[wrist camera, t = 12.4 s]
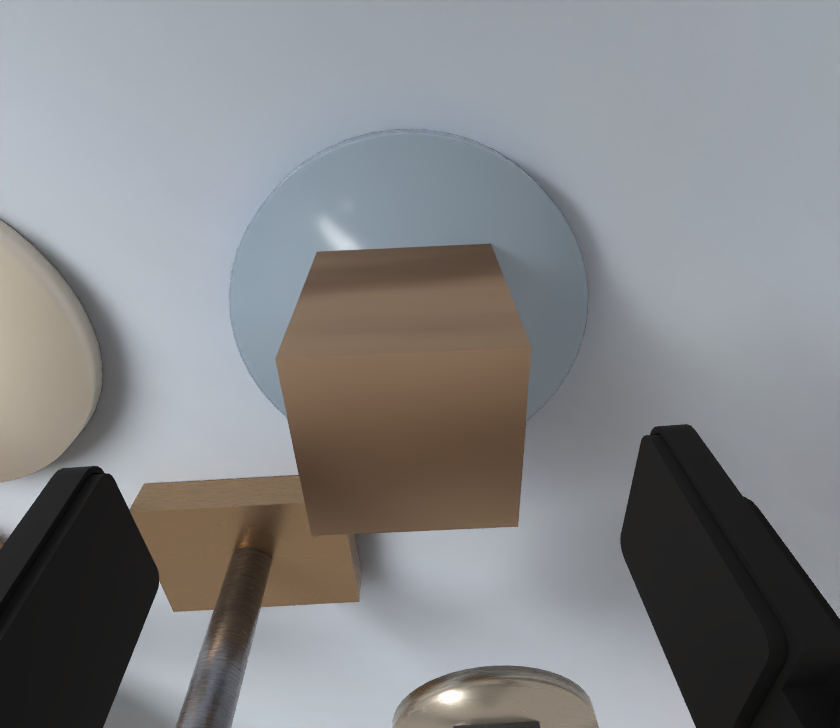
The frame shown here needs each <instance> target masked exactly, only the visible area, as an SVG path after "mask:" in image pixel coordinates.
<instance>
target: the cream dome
mask: <svg viewBox="0 0 840 728" xmlns="http://www.w3.org/2000/svg"><path fill="white" fill-rule="evenodd" d="M102 381H103V378H102V360H101V354H100V348H99V344H98V341H97V338H96V335H95V332H94V329H93V326H92V324H91V322H90V320H89V318H88V316H87V314H86V312H85V310H84V308H83V306H82V305H81V303H80V301H79V300H78V298H77V297H76V295H75V294H74V292H73V290H72V289H71V287H70V286H69V285H68V284H67V282H66V281H65V280H64V279H63V277H62V276H61V275H60V274H59V272H58V271H57V270H56V269H55V267H54V266H53V265H52V264H51V263H50V262H49V261H48V260H47V259H46V258H45V257H44V256H43V255H42V254H41V253H40V252H39V251H38V250H37V249H36V248H35V247H34V246H33V245H32V244H30V243H29V242H28V241H27V240H26V239H24V238H23V237H22V236H21V235H20V234H19V233H17V232H16V231H15V230H14V229H12V228H11V227H10V226H8V225H7V224H5V223H4V222H3V221H1V220H0V483H1V482H5V481H10V480H14V479H18V478H21V477H24V476H27V475H29V474H32V473H35V472H37V471H38V470H40V469H42V468H44V467H46V466H48V465H49V464H50V463H52V462H53V461H54V460H56V459H57V458H58V457H59V456H61V455H62V453H63V452H64V451H65V450H66V449H67V448H68V447H69V446H70V445H71V443H72V442H73V441H74V440H75V438H76V437H77V436H78V434H79V433H80V432H81V431H82V429H83V428H84V427H85V426H86V424H87V423H88V421H89V420H90V418H91V416H92V415H93V413H94V411H95V409H96V406H97V404H98V401H99V398H100V394H101V387H102Z"/></svg>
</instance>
